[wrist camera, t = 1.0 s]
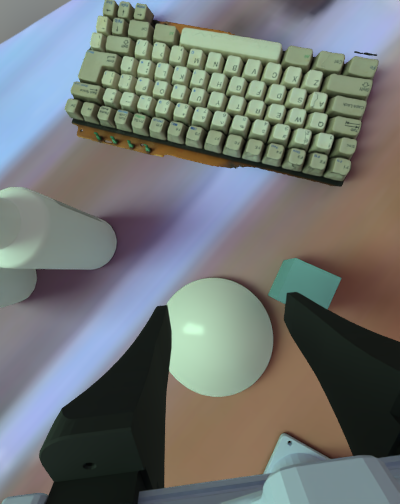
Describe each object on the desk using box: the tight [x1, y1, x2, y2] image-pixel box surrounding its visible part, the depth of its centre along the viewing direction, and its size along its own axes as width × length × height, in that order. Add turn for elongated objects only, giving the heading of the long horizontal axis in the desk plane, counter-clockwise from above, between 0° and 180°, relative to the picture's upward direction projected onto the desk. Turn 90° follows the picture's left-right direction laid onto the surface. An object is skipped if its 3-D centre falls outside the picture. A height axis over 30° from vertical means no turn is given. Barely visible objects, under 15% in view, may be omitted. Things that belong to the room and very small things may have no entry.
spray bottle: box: [0, 187, 117, 270], centre depth 19 cm, size 7×7×18 cm
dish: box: [167, 278, 273, 397], centre depth 25 cm, size 13×13×1 cm
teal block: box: [268, 258, 341, 309], centre depth 23 cm, size 4×4×4 cm
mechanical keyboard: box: [65, 0, 379, 186], centre depth 27 cm, size 38×19×3 cm, turn 74°
